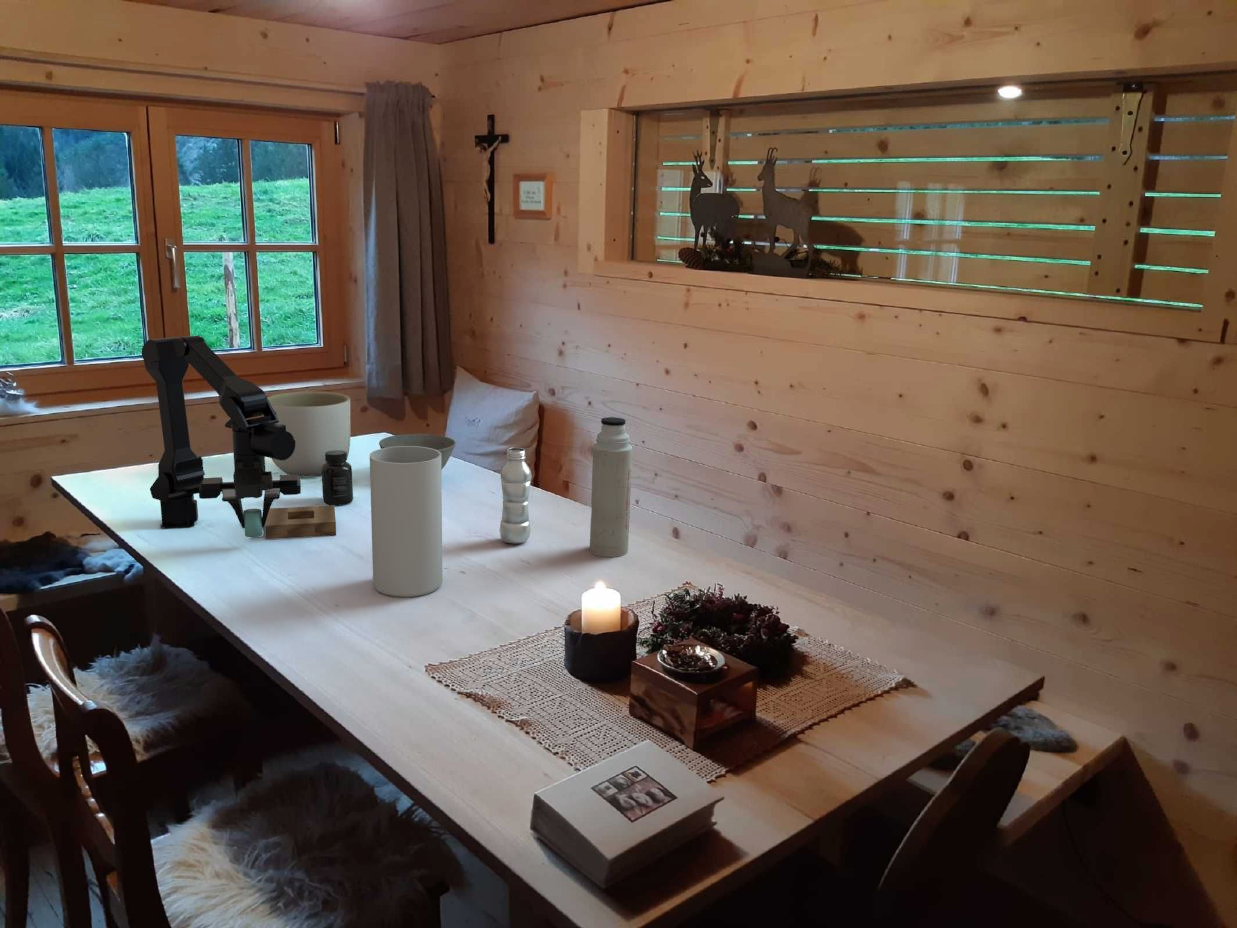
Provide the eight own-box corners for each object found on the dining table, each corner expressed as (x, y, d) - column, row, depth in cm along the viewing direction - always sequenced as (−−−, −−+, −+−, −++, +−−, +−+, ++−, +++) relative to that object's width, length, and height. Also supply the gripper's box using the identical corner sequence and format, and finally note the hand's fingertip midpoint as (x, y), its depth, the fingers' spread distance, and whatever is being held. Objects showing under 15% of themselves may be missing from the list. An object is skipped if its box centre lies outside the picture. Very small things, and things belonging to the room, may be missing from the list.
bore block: (265, 539, 200) (264, 525, 200) (267, 521, 211) (267, 508, 211) (336, 535, 204) (335, 521, 204) (334, 517, 216) (334, 505, 215)
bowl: (365, 484, 241) (364, 445, 239) (403, 467, 259) (402, 430, 256) (433, 493, 236) (433, 454, 234) (467, 475, 254) (467, 437, 251)
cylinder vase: (374, 600, 172) (370, 464, 166) (372, 575, 184) (368, 447, 177) (445, 596, 175) (444, 462, 169) (439, 571, 187) (438, 445, 181)
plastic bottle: (493, 543, 203) (493, 450, 198) (511, 534, 209) (512, 444, 204) (518, 549, 201) (520, 455, 196) (536, 540, 206) (538, 448, 201)
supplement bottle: (357, 498, 230) (355, 449, 227) (346, 507, 223) (345, 456, 220) (329, 497, 231) (327, 447, 227) (318, 505, 224) (315, 455, 221)
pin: (244, 537, 193) (242, 514, 192) (245, 532, 196) (243, 508, 195) (262, 536, 194) (261, 513, 193) (263, 531, 197) (261, 508, 196)
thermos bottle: (631, 546, 205) (637, 416, 198) (623, 558, 197) (629, 424, 190) (594, 542, 206) (598, 413, 199) (585, 554, 199) (589, 421, 192)
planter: (255, 479, 242) (250, 404, 237) (286, 459, 262) (282, 389, 257) (337, 483, 242) (335, 408, 237) (362, 462, 262) (360, 393, 257)
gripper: (193, 464, 181) (199, 543, 185) (298, 460, 186) (302, 537, 190) (199, 449, 191) (204, 525, 195) (299, 446, 197) (302, 519, 201)
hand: (253, 527), depth 195 cm, fingers closed on pin, 3 cm apart
